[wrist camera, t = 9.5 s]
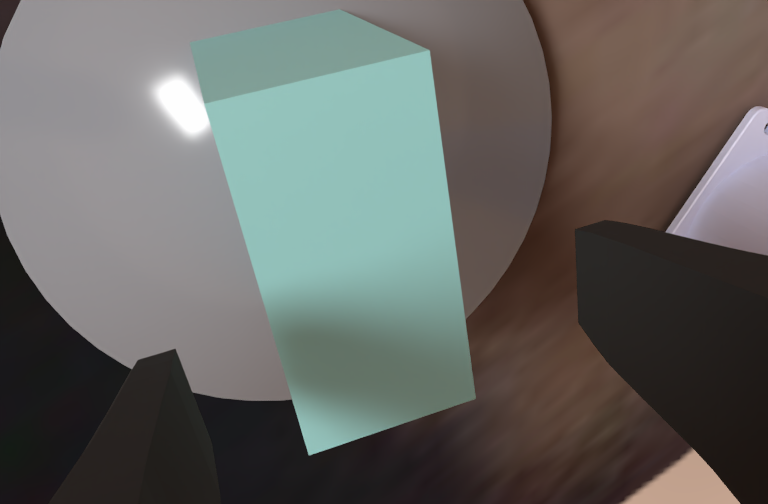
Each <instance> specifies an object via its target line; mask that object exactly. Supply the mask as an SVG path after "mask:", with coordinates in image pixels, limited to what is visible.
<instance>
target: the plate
mask: <svg viewBox="0 0 768 504" xmlns="http://www.w3.org/2000/svg"><path fill="white" fill-rule="evenodd" d="M339 9H340V10H343V11H345V12H347V13H349V14H351V15H354V16H356V17H358V18H360V19H362V20H365V21H367V22H369V23H371V24H373V25H376V26H378V27H380V28H382V29H384V30H386V31H389V32H391V33H393V34H395V35H397V36H400V37H402V38H404V39H406V40H408V41H411V42H413V43H415V44H417V45H419V46H422V47H424V48H426V49H428V50H430V57H431V64H432V72H433V80H434V87H435V95H436V102H437V110H438V117H439V125H440V132H441V140H442V147H443V155H444V163H445V170H446V178H447V185H448V193H449V200H450V208H451V215H452V223H453V231H454V238H455V246H456V253H457V261H458V268H459V276H460V283H461V291H462V299H463V306H464V314H465V319H466V318H467V317H468V316H469V315H470V314H472V312H473V311H474V310H475V309H476V308H477V307H478V306H479V305H480V303H481V302H482V301H483V300H484V299H485V298H486V297H487V295H488V294H489V293H490V292H491V291H492V290H493V288H494V287H495V285H496V284H497V282H498V281H499V280H500V278H501V277H502V275H503V274H504V273H505V271H506V270H507V268H508V267H509V265H510V264H511V262H512V260H513V258H514V256H515V255H516V253H517V251H518V249H519V247H520V246H521V244H522V242H523V240H524V238H525V236H526V234H527V231H528V229H529V226H530V224H531V222H532V219H533V217H534V214H535V212H536V209H537V206H538V202H539V199H540V196H541V192H542V189H543V185H544V182H545V177H546V171H547V165H548V160H549V154H550V144H551V124H552V112H551V98H550V84H549V79H548V74H547V69H546V64H545V59H544V54H543V50H542V47H541V44H540V41H539V38H538V35H537V32H536V29H535V26H534V23H533V20H532V18H531V16H530V14H529V12H528V10H527V8H526V6H525V4H524V2H523V0H21V1H20V4H19V6H18V8H17V10H16V12H15V14H14V16H13V19H12V21H11V23H10V25H9V27H8V29H7V31H6V33H5V36H4V38H3V42H2V45H1V49H0V215H1V218H2V221H3V224H4V227H5V230H6V233H7V236H8V238H9V240H10V242H11V244H12V246H13V247H14V249H15V251H16V253H17V255H18V257H19V259H20V261H21V263H22V265H23V267H24V269H25V271H26V272H27V273H28V275H29V276H30V278H31V279H32V280H33V282H34V283H35V285H36V286H37V288H38V289H39V290H40V292H41V293H42V295H43V296H44V298H45V299H46V300H47V301H48V302H49V303H50V304H51V306H52V307H53V308H54V309H55V310H56V311H57V312H58V313H59V314H60V315H61V316H62V317H63V318H64V320H65V321H66V322H67V323H68V324H69V325H70V326H71V327H72V328H74V329H75V330H76V331H77V332H78V333H80V334H81V335H82V336H83V337H84V338H86V339H87V340H88V341H89V342H91V343H92V344H93V345H94V346H95V347H97V348H98V349H100V350H101V351H103V352H104V353H106V354H107V355H109V356H111V357H112V358H114V359H115V360H117V361H119V362H120V363H122V364H123V365H125V366H127V367H129V368H131V369H133V367H134V365H135V364H136V362H137V360H139V359H143V358H146V357H149V356H153V355H156V354H159V353H163V352H166V351H169V350H173V349H176V351H177V354H178V356H179V359H180V361H181V364H182V367H183V369H184V372H185V374H186V377H187V380H188V382H189V385H190V387H191V390H192V392H194V393H199V394H204V395H209V396H213V397H218V398H227V399H237V400H248V401H273V400H290V399H292V397H291V394H290V390H289V387H288V384H287V380H286V377H285V373H284V370H283V367H282V363H281V360H280V357H279V353H278V350H277V347H276V343H275V340H274V337H273V333H272V330H271V326H270V323H269V320H268V316H267V313H266V310H265V306H264V303H263V300H262V296H261V293H260V290H259V286H258V283H257V279H256V276H255V273H254V269H253V266H252V263H251V259H250V256H249V253H248V249H247V246H246V243H245V239H244V236H243V233H242V229H241V226H240V222H239V219H238V216H237V212H236V209H235V206H234V202H233V199H232V196H231V192H230V189H229V186H228V182H227V179H226V175H225V172H224V169H223V165H222V162H221V159H220V155H219V152H218V149H217V145H216V142H215V139H214V135H213V132H212V128H211V125H210V122H209V118H208V115H207V112H206V108H205V105H204V101H203V97H202V93H201V88H200V84H199V80H198V75H197V71H196V67H195V63H194V58H193V54H192V50H191V46H190V42H194V41H198V40H203V39H208V38H212V37H217V36H221V35H226V34H230V33H235V32H239V31H244V30H248V29H253V28H257V27H262V26H266V25H271V24H275V23H280V22H284V21H289V20H293V19H298V18H302V17H307V16H312V15H316V14H321V13H325V12H330V11H334V10H339Z"/></svg>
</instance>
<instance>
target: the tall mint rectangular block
mask: <svg viewBox="0 0 768 504" xmlns="http://www.w3.org/2000/svg"><path fill="white" fill-rule="evenodd" d="M190 46H191V50H192V54H193V58H194V63H195V67H196V71H197V75H198V80H199V84H200V88H201V93H202V97H203V101H204V105H205V108H206V112H207V115H208V118H209V122H210V125H211V128H212V132H213V135H214V139H215V142H216V145H217V149H218V152H219V155H220V159H221V162H222V165H223V169H224V172H225V175H226V179H227V182H228V186H229V189H230V192H231V196H232V199H233V202H234V206H235V209H236V212H237V216H238V219H239V222H240V226H241V229H242V233H243V236H244V239H245V243H246V246H247V249H248V253H249V256H250V259H251V263H252V266H253V269H254V273H255V276H256V279H257V283H258V286H259V290H260V293H261V296H262V300H263V303H264V306H265V310H266V313H267V316H268V320H269V323H270V326H271V330H272V333H273V337H274V340H275V343H276V347H277V350H278V353H279V357H280V360H281V363H282V367H283V370H284V373H285V377H286V380H287V384H288V387H289V390H290V394H291V397H292V400H293V404H294V407H295V410H296V414H297V417H298V420H299V424H300V427H301V430H302V434H303V437H304V441H305V444H306V447H307V451H308V454H309V455H312V454H315V453H318V452H320V451H323V450H326V449H329V448H332V447H335V446H338V445H341V444H344V443H347V442H350V441H353V440H356V439H359V438H362V437H365V436H368V435H370V434H373V433H376V432H379V431H382V430H385V429H388V428H391V427H394V426H397V425H400V424H403V423H406V422H409V421H412V420H415V419H417V418H420V417H423V416H426V415H429V414H432V413H435V412H438V411H441V410H444V409H447V408H450V407H453V406H456V405H459V404H462V403H465V402H467V401H470V400H473V399H476V397H475V389H474V382H473V374H472V366H471V359H470V351H469V344H468V336H467V329H466V321H465V314H464V306H463V299H462V291H461V283H460V276H459V268H458V261H457V253H456V246H455V238H454V231H453V223H452V215H451V208H450V200H449V193H448V185H447V178H446V170H445V163H444V155H443V147H442V140H441V132H440V125H439V117H438V110H437V102H436V95H435V87H434V80H433V72H432V64H431V57H430V50H428V49H426V48H424V47H422V46H419V45H417V44H415V43H413V42H411V41H408V40H406V39H404V38H402V37H400V36H397V35H395V34H393V33H391V32H389V31H386V30H384V29H382V28H380V27H378V26H376V25H373V24H371V23H369V22H367V21H365V20H362V19H360V18H358V17H356V16H354V15H351V14H349V13H347V12H345V11H343V10H340V9H339V10H334V11H330V12H325V13H321V14H316V15H312V16H307V17H302V18H298V19H293V20H289V21H284V22H280V23H275V24H271V25H266V26H262V27H257V28H253V29H248V30H244V31H239V32H235V33H230V34H226V35H221V36H217V37H212V38H208V39H203V40H198V41H194V42H190Z"/></svg>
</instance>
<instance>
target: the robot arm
mask: <svg viewBox="0 0 768 504" xmlns="http://www.w3.org/2000/svg"><path fill="white" fill-rule="evenodd" d="M767 123H768V108H765V107H761V106H756V107H754V108H752V109H750V111H749V112H748V113H747V114H746V115H745V117H744V118H743V120H742V121H741V123H740V124H739V125H738V127H737V128H736V130H735V131H734V133H733V134H732V136H731V137H730V139H729V140H728V141H727V143H726V144H725V146H724V147H723V149H722V150H721V152H720V153H719V155H718V156H717V157H716V159H715V160H714V162H713V163H712V165H711V166H710V168H709V169H708V171H707V172H706V174H705V175H704V176H703V178H702V179H701V181H700V182H699V184H698V185H697V187H696V188H695V190H694V191H693V192H692V194H691V195H690V197H689V198H688V200H687V201H686V203H685V204H684V206H683V207H682V208H681V210H680V211H679V213H678V214H677V216H676V217H675V219H674V220H673V222H672V223H671V224H670V226H669V227H668V229H667V230H666V232H662V231H658V230H654V229H650V228H645V227H641V226H636V225H632V224H627V223H621V222H615V221H607V220H605V221H601V222H598V223H594V224H591V225H588V226H584V227H581V228H578V229H575V242H576V269H577V296H578V323H579V324H580V326H581V327H582V329H583V330H584V331H585V333H586V334H587V336H588V337H589V338H590V340H591V341H592V343H593V344H594V345H595V347H596V348H597V349H598V351H599V352H600V353H601V354H602V356H603V357H604V358H605V360H606V361H607V362H608V363H609V365H610V366H611V367H612V368H613V369H614V370H615V371H616V372H617V373H618V374H619V375H620V376H621V377H622V378H623V379H624V380H625V381H626V382H627V383H628V384H629V385H630V386H631V387H632V388H633V389H634V390H635V391H636V392H637V393H638V394H639V395H640V396H641V397H642V398H643V399H644V400H645V401H646V402H647V403H648V404H649V405H650V406H651V407H652V408H653V409H654V410H655V411H656V412H657V413H658V414H659V415H660V416H661V417H662V418H663V419H664V420H665V421H666V422H667V423H668V424H669V425H670V426H671V427H672V428H673V429H674V430H675V431H676V432H677V433H678V434H679V435H680V436H681V437H682V438H683V439H684V440H685V441H686V442H687V443H688V444H689V445H690V446H691V447H692V448H693V449H694V450H695V451H696V452H697V453H698V454H699V455H700V456H701V457H702V458H703V460H704V461H706V463H707V464H708V465H709V466H710V467H711V468H712V469H713V470H714V472H715V473H716V474H717V475H718V477H719V478H720V479H721V480H722V481H723V482H724V484H725V485H726V486H727V488H728V489H729V490H730V491H731V493H732V494H733V495H734V496H735V497H736V499H737V500H738V501H739V502H740V504H768V125H767V128H766V129H765V130H764V128H765V126H766V124H767ZM48 504H221V503H220V491H219V485H218V478H217V472H216V466H215V460H214V454H213V448H212V442H211V440H210V437H209V434H208V432H207V429H206V427H205V424H204V421H203V419H202V416H201V413H200V411H199V408H198V406H197V403H196V400H195V398H194V395H193V393H192V390H191V387H190V385H189V382H188V380H187V377H186V374H185V372H184V369H183V367H182V364H181V361H180V359H179V356H178V354H177V351H176V349H173V350H169V351H166V352H163V353H159V354H156V355H153V356H149V357H146V358H143V359H139V360H137V362H136V364H135V365H134V367H133V369H132V370H131V372H130V374H129V375H128V377H127V379H126V380H125V382H124V384H123V386H122V388H121V389H120V391H119V393H118V395H117V397H116V398H115V400H114V402H113V404H112V405H111V407H110V409H109V411H108V412H107V414H106V416H105V418H104V419H103V421H102V423H101V424H100V426H99V427H98V429H97V431H96V432H95V434H94V436H93V437H92V439H91V441H90V442H89V444H88V446H87V447H86V449H85V451H84V452H83V454H82V455H81V457H80V458H79V460H78V461H77V463H76V464H75V466H74V467H73V468H72V470H71V471H70V473H69V474H68V476H67V477H66V479H65V480H64V482H63V483H62V485H61V486H60V488H59V489H58V491H57V492H56V493H55V495H54V496H53V498H52V499H51V500H50V502H49V503H48Z"/></svg>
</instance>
